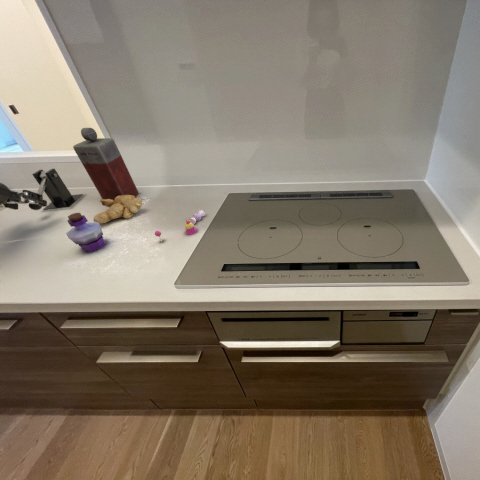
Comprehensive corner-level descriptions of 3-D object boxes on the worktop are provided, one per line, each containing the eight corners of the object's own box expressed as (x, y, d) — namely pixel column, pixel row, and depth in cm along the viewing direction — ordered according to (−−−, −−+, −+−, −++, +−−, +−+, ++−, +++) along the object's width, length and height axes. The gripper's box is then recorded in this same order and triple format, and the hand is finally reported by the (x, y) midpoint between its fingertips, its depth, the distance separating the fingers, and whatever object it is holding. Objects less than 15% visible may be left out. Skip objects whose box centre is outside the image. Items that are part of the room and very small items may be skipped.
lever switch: (71, 209, 103) (48, 175, 94) (44, 212, 101) (19, 178, 93) (84, 196, 111) (65, 164, 103) (60, 199, 110) (38, 167, 102)
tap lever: (43, 211, 93) (35, 205, 91) (32, 212, 93) (24, 207, 90) (55, 175, 101) (49, 169, 99) (46, 176, 101) (39, 170, 98)
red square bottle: (113, 194, 112) (75, 124, 95) (139, 194, 112) (106, 124, 95) (99, 205, 105) (56, 131, 88) (127, 204, 105) (89, 131, 88)
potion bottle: (82, 243, 85) (60, 211, 78) (113, 236, 88) (94, 205, 80) (75, 259, 78) (50, 226, 71) (109, 251, 81) (88, 218, 74)
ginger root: (147, 196, 107) (138, 180, 101) (150, 223, 98) (140, 207, 92) (103, 206, 103) (90, 190, 96) (101, 235, 94) (87, 219, 87)
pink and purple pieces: (194, 215, 98) (189, 200, 94) (213, 218, 96) (208, 203, 92) (157, 243, 84) (150, 228, 80) (178, 248, 82) (171, 232, 79)
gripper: (8, 174, 77) (54, 192, 93) (-52, 179, 74) (7, 197, 90) (8, 199, 76) (55, 213, 92) (-52, 205, 73) (7, 218, 89)
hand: (31, 205), depth 91 cm, fingers open, 8 cm apart
